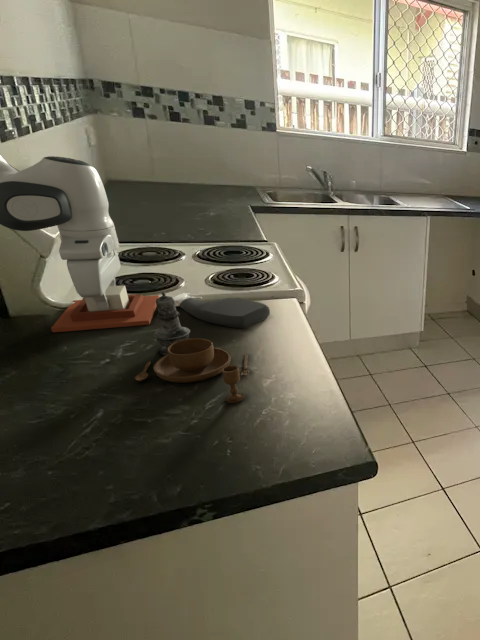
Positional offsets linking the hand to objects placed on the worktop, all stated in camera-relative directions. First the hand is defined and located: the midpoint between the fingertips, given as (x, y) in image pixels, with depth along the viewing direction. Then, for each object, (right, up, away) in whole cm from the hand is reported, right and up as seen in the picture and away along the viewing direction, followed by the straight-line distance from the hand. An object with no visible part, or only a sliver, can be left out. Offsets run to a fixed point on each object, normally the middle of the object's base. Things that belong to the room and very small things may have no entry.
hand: (108, 302), depth 104 cm
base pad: (0, -3, +1) cm, 3 cm away
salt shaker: (+22, -10, -10) cm, 26 cm away
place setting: (+32, -15, -19) cm, 40 cm away
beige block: (0, -2, +1) cm, 2 cm away
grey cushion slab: (+19, -2, +7) cm, 21 cm away
